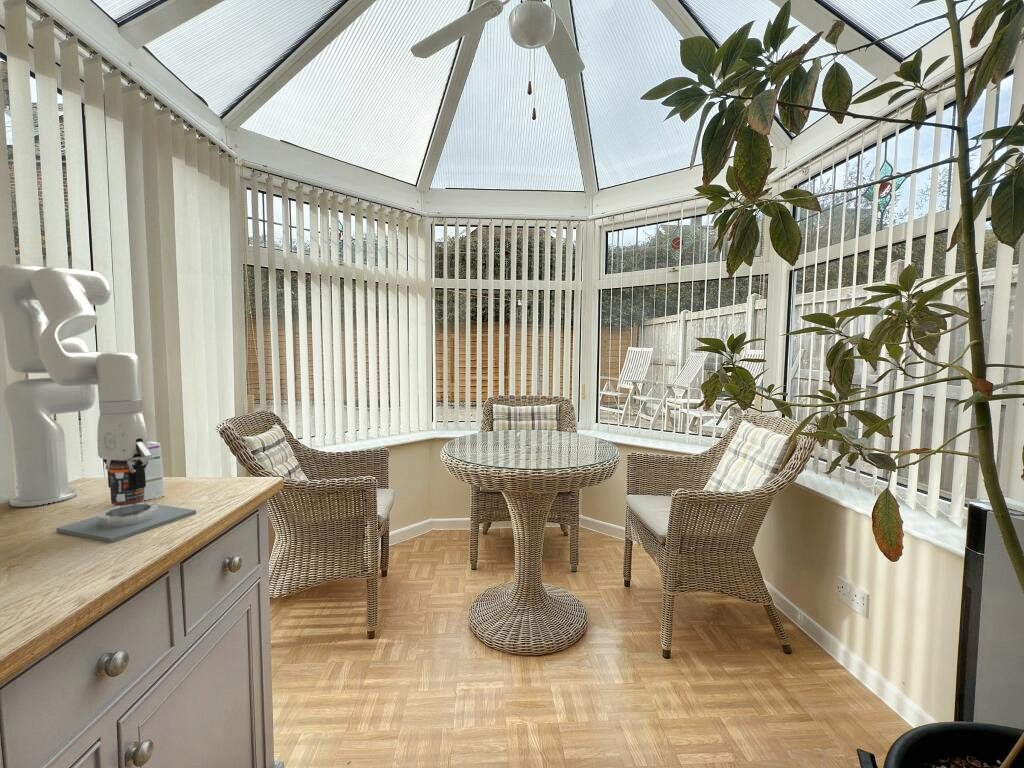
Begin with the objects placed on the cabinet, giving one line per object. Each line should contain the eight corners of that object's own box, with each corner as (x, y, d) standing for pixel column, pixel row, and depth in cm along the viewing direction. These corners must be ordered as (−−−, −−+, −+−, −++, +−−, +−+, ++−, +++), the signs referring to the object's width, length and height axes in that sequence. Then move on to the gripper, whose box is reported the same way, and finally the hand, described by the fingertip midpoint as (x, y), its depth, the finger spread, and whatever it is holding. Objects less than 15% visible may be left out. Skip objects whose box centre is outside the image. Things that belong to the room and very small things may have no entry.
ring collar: (88, 524, 107) (87, 515, 107) (138, 508, 117) (137, 500, 116) (119, 529, 103) (119, 520, 103) (168, 513, 113) (168, 505, 113)
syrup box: (165, 496, 129) (162, 442, 128) (139, 502, 124) (135, 446, 123) (156, 492, 132) (152, 440, 131) (130, 498, 127) (126, 444, 126)
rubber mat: (56, 531, 105) (56, 528, 104) (143, 505, 121) (143, 502, 121) (112, 542, 99) (112, 538, 98) (196, 513, 115) (195, 510, 115)
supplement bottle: (126, 507, 106) (122, 456, 105) (104, 506, 107) (100, 455, 106) (151, 499, 112) (148, 450, 111) (130, 497, 113) (126, 449, 112)
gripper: (76, 408, 107) (83, 488, 109) (129, 411, 102) (135, 496, 103) (114, 404, 114) (119, 480, 116) (165, 407, 109) (171, 486, 110)
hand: (127, 486), depth 109 cm, fingers closed on supplement bottle, 6 cm apart
